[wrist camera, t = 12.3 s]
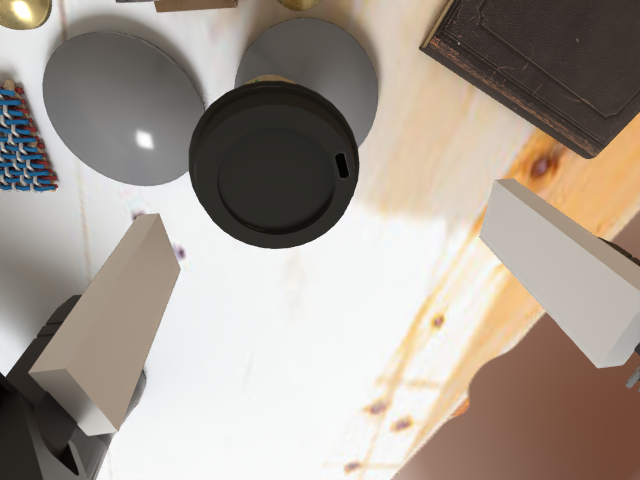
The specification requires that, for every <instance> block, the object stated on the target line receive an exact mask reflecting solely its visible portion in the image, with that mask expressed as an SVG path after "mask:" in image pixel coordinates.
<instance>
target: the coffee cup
mask: <svg viewBox="0 0 640 480" xmlns="http://www.w3.org/2000/svg"><path fill="white" fill-rule="evenodd" d="M189 174H190V178H191V183H192V187H193V189H194V191H195V193H196V196H197V198H198V200H199V202H200V203H201V205H202V206H203V207H204V209H205V210H206V212H207V213H208V215H209V216H210V217H211V219H212V220H213V222H215V223H216V224H217V225H218V226H219V227H220V228H221V229H222V230H223V231H224V232H226V233H227V234H229V235H230V236H232V237H233V238H235V239H237V240H239V241H242V242H244V243H246V244H249V245H253V246H257V247H261V248H271V249H281V248H291V247H295V246H300V245H303V244H306V243H308V242H311V241H313V240H315V239H317V238H318V237H320V236H322V235H323V234H325V233H326V232H327V231H328V230H330V229H331V228H332V227H333V226H334V225H335V224H336V223H337V222H338V221H339V219H340V218H341V217H342V216H343V214H344V212H345V211H346V209H347V207H348V205H349V203H350V200H351V198H352V197H353V195H354V191H355V188H356V185H357V182H358V175H359V155H358V146H357V143H356V140H355V137H354V134H353V131H352V129H351V127H350V126H349V124H348V122H347V120H346V119H345V117H344V116H343V114H342V113H341V112H340V111H339V110H338V109H337V108H336V107H335V105H334V104H333V103H331V102H330V101H329V100H327V99H326V98H325V97H323V96H322V95H321V94H319V93H318V92H316V91H313V90H311V89H309V88H307V87H304V86H302V85H299V84H296V83H295V82H294V81H291V80H289V79H287V78H285V77H282V76H278V75H269V74H267V75H262V76H259V77H256V78H254V79H252V80H250V81H248V82H247V83H245V84H244V85H242V86H240V87H238V88H235V89H233V90H231V91H229V92H227V93H225V94H224V95H223V96H221V97H220V98H219V99H217V100H216V101H215V102H214V103H212V104H211V105H210V106H209V108H208V109H207V110H206V111H205V113H204V114H203V115H202V116H201V118H200V119H199V121H198V123H197V125H196V127H195V129H194V132H193V134H192V138H191V142H190V146H189Z"/></svg>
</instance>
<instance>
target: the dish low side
mask: <svg viewBox="0 0 640 480" xmlns="http://www.w3.org/2000/svg"><path fill="white" fill-rule="evenodd" d="M267 74H269V75H278V76H282V77H285V78H287V79H289V80H291V81H294V82H295V83H296V84H299V85H302V86H304V87H307V88H309V89H311V90H313V91H316V92H318V93H319V94H321V95H322V96H323V97H325V98H326V99H327V100H329V101H330V102H331V103H333V104H334V105H335V107H336V108H337V109H338V110H339V111H340V112H341V113H342V114H343V116H344V117H345V119H346V120H347V122H348V124H349V126H350V127H351V129H352V131H353V134H354V137H355V140H356V143H357V146H358V148H359V146H360V145H361V144H362V143H363V141H364V140H365V138H366V137H367V135H368V133H369V131H370V129H371V127H372V125H373V122H374V119H375V115H376V111H377V104H378V86H377V79H376V75H375V72H374V68H373V66H372V63H371V61H370V59H369V57H368V55H367V54H366V52H365V50H364V49H363V48H362V46H361V45H360V44H359V43H358V41H357V40H355V39H354V38H353V37H352V36H351V35H350V34H349V33H347V32H346V31H345V30H343V29H342V28H340V27H338V26H336V25H334V24H332V23H329V22H326V21H323V20H319V19H313V18H297V19H291V20H287V21H284V22H281V23H279V24H277V25H275V26H273V27H271V28H269V29H268V30H267V31H265V32H264V33H262V34H261V35H260V36H259V37H258V38H257V39H256V40H255V41H254V42H253V44H252V45H251V46H250V47H249V49H248V50H247V52H246V53H245V55H244V57H243V59H242V61H241V63H240V66H239V68H238V71H237V75H236V79H235V87H234V89H235V88H238V87H240V86H242V85H244V84H245V83H247V82H248V81H250V80H252V79H254V78H256V77H259V76H262V75H267Z"/></svg>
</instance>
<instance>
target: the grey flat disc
mask: <svg viewBox="0 0 640 480" xmlns="http://www.w3.org/2000/svg"><path fill="white" fill-rule="evenodd" d="M43 98H44V104H45V107H46V111H47V114H48V116H49V119H50V121H51V123H52V125H53V127H54V129H55V130H56V132H57V134H58V135H59V137H60V138H61V140H62V141H63V142H64V144H65V145H66V146H67V147H68V148H69V149H70V150H71V152H72V153H74V154H75V155H76V156H77V157H78V158H79V159H80V160H81V161H83V162H84V163H85V164H86V165H88V166H89V167H91V168H92V169H94V170H95V171H97V172H99V173H101V174H102V175H104V176H106V177H109V178H111V179H114V180H116V181H119V182H123V183H126V184H131V185H138V186H155V185H161V184H165V183H168V182H171V181H173V180H176V179H178V178H179V177H181V176H182V175H184V174H185V173H186V172H187V171H188V170H189V146H190V142H191V138H192V134H193V132H194V129H195V127H196V125H197V123H198V121H199V119H200V118H201V116H202V115H203V114H204V113H205V110H204V107H203V104H202V100H201V98H200V96H199V93H198V91H197V89H196V88H195V86H194V84H193V82H192V81H191V79H190V78H189V77H188V75H187V74H186V73H185V71H184V70H183V69H182V68H181V67H180V66H179V65H178V64H177V62H175V61H174V60H173V59H172V58H171V57H170V56H169V55H167V54H166V53H165V52H163V51H162V50H160V49H159V48H158V47H156V46H154V45H152V44H151V43H149V42H147V41H145V40H142V39H140V38H138V37H135V36H131V35H128V34H124V33H117V32H95V33H89V34H83V35H80V36H77V37H74V38H72V39H70V40H68V41H67V42H65V43H64V44H62V45H61V46H60V47H59V48H58V49H57V50H56V51H55V52H54V53H53V55H52V56H51V58H50V60H49V61H48V63H47V66H46V69H45V72H44V77H43Z"/></svg>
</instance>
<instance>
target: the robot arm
mask: <svg viewBox="0 0 640 480" xmlns="http://www.w3.org/2000/svg"><path fill="white" fill-rule="evenodd" d="M479 237H480V239H481V240H482V241H483V242H484V243H485V244H486V245H487V246H488V247H489V249H490V250H491V251H492V252H493V253H494V254H495V255H496V256H497V257H498V259H499V260H500V261H501V262H502V263H503V264H504V265H505V266H506V267H507V268H508V270H509V271H510V272H511V273H512V274H513V275H514V276H515V277H516V278H517V280H518V281H519V282H520V283H521V284H522V285H523V286H524V287H525V288H526V290H527V291H528V292H529V293H530V294H531V295H532V296H533V297H534V298H535V299H536V301H537V302H538V303H539V304H540V305H541V306H542V307H543V308H544V309H545V311H546V312H547V313H548V314H549V315H550V316H551V317H552V318H553V319H554V320H555V322H556V323H557V324H558V325H559V326H560V327H561V328H562V329H563V330H564V332H566V334H567V335H568V336H569V337H570V338H571V339H572V340H573V342H574V343H575V344H576V345H577V346H578V347H579V348H580V349H581V350H582V351H583V353H584V354H585V355H586V356H587V357H588V358H589V359H590V360H591V361H592V363H593V364H594V365H595V366H596V367H597V368H603V367H611V366H618V365H624V363H625V362H626V361H627V359H628V358H629V357H630V356H631V354H632V353H633V352H634V350H635V351H636V352H637V353H638V354H639V355H640V260H638V259H637V258H633V257H632V255H631V254H629V253H628V252H626V251H625V250H624V249H622V248H621V247H619V246H618V245H616V244H613V243H611V242H609V241H607V240H604V239H602V238H600V237H596V236H595V235H593V234H592V233H591V232H589V231H588V230H586V229H585V228H583V227H582V226H581V225H579V224H578V223H576V222H575V221H573V220H572V219H571V218H569V217H568V216H566V215H565V214H563V213H562V212H560V211H559V210H558V209H556V208H555V207H553V206H552V205H550V204H549V203H548V202H546V201H545V200H543V199H542V198H540V197H539V196H538V195H536V194H535V193H533V192H532V191H530V190H529V189H527V188H526V187H525V186H523V185H522V184H520V183H519V182H517V181H516V180H515V179H513V178H511V179H501V180H494V183H493V187H492V191H491V195H490V199H489V202H488V206H487V210H486V214H485V217H484V221H483V225H482V229H481V232H480V236H479ZM180 270H181V269H180V266H179V264H178V261H177V259H176V256H175V254H174V251H173V248H172V246H171V243H170V241H169V238H168V235H167V233H166V230H165V228H164V225H163V222H162V220H161V217H160V215H159V213H157V214H147V215H138V216H137V218H136V219H135V221H134V222H133V224H132V225H131V226H130V228H129V229H128V231H127V232H126V234H125V235H124V236H123V238H122V239H121V241H120V242H119V244H118V245H117V246H116V248H115V249H114V251H113V252H112V254H111V255H110V256H109V258H108V259H107V261H106V262H105V264H104V265H103V266H102V268H101V269H100V271H99V272H98V274H97V275H96V276H95V278H94V279H93V281H92V282H91V284H90V285H89V286H88V288H87V289H86V291H85V292H84V294H83V295H74V296H72V297H71V298H70V299H68V300H67V301H66V302H65V303H64V304H62V305H61V306H60V307H59V308H57V309H56V311H55V312H54V313H53V315H52V316H51V317H50V319H49V320H48V321H47V323H46V326H44V327H43V328H42V329H41V331H40V332H39V333H38V335H37V338H36V339H34V340H33V341H32V343H31V344H30V345H29V346H28V348H27V349H26V350H25V352H24V353H23V354H22V356H21V357H20V358H19V360H18V361H17V362H16V364H15V365H14V366H13V368H12V369H11V370H10V372H9V373H8V374H7V376H6V377H5V376H4V375H3V374H2V373H1V372H0V480H96V478H97V476H98V473H99V471H100V468H101V465H102V463H103V460H104V458H105V455H106V453H107V450H108V448H109V445H110V442H111V440H112V438H113V436H114V434H115V433H116V432H118V431H119V429H120V426H121V425H122V424H123V423H124V421H125V420H126V418H127V417H128V416H129V414H130V413H131V411H132V410H133V409H134V408H135V407H136V405H137V404H138V403H139V401H140V399H141V397H142V394H143V391H144V389H145V386H146V378H145V375H144V373H143V372H142V369H143V366H144V364H145V361H146V358H147V356H148V353H149V351H150V348H151V345H152V343H153V340H154V338H155V335H156V332H157V330H158V327H159V325H160V322H161V319H162V317H163V314H164V312H165V309H166V306H167V304H168V301H169V299H170V296H171V293H172V291H173V288H174V286H175V283H176V280H177V278H178V275H179V273H180ZM637 381H640V366H639V367H638V368H637V370H636V371H635V372H634V373H633V374H632V375H631V377H630V378H629V379H628V381H627V383H626V387H629V388H631V387H632V386H633V385H634V383H635V382H637ZM638 391H639V392H640V388H639V390H638Z"/></svg>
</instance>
